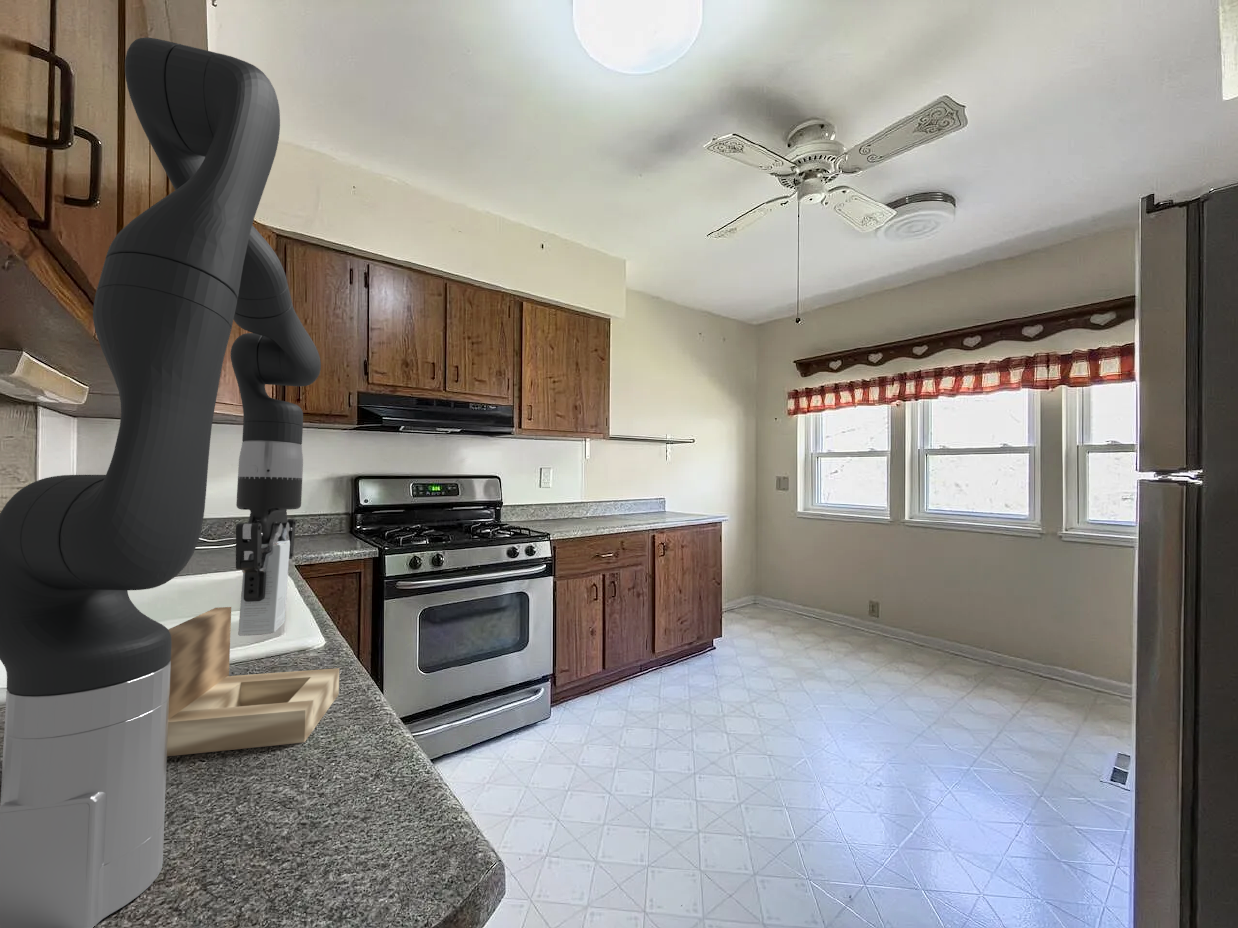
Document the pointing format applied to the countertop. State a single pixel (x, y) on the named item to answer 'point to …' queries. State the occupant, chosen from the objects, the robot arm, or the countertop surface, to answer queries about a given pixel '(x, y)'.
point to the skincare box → (267, 596)
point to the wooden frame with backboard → (236, 694)
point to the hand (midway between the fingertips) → (265, 595)
